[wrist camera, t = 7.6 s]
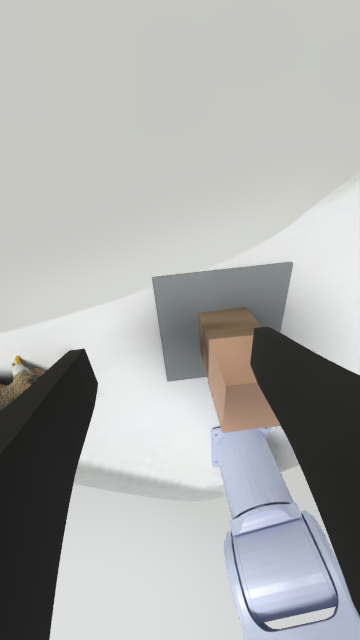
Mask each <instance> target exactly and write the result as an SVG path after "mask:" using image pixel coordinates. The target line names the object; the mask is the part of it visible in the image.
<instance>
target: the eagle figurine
mask: <svg viewBox="0 0 360 640" xmlns="http://www.w3.org/2000/svg"><path fill="white" fill-rule="evenodd" d="M12 372H13V378H14V380H13V382H12V383H11V384H10V385H4V384H0V411H1V410H3V409H4V408H5V407H6V406H7V405H8V404H10V403H11V402H12V401H13V400H14V399H16V398H17V397H18V396H19V395H20V394H22V393H23V392H24V391H25V390H26V389H27V388H29V387H30V386H31V385H32V384H33V383H34V382H35V381H36V379H35V378H34V377H33V376H32V375H31V374H34V375H40V376H42V375H43V374H44V373H45V372H46V371H45V370H42V369H40V368H35V369H32V370H30V371H29V372H28V371H27V370H26V369H25V368H24V366H23V364H22V363H21V361H20V358H19V356H16V358H15V360H14V362H13V363H12Z"/></svg>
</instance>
